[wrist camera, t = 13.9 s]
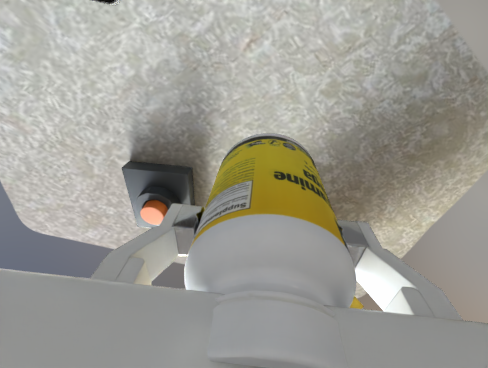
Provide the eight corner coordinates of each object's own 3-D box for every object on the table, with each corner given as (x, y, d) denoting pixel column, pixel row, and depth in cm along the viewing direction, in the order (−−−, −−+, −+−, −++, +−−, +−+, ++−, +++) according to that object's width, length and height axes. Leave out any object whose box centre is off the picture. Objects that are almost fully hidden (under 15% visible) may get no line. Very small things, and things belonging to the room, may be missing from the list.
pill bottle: (332, 182, 15) (444, 423, 5) (258, 222, 17) (249, 434, 8) (278, 107, 12) (316, 307, 3) (201, 165, 15) (96, 373, 6)
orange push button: (143, 198, 34) (137, 205, 32) (166, 200, 34) (162, 208, 32) (147, 216, 36) (142, 223, 34) (169, 218, 36) (165, 226, 34)
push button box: (129, 161, 35) (114, 174, 31) (192, 167, 34) (184, 181, 31) (143, 218, 41) (132, 234, 38) (196, 224, 41) (190, 240, 38)
